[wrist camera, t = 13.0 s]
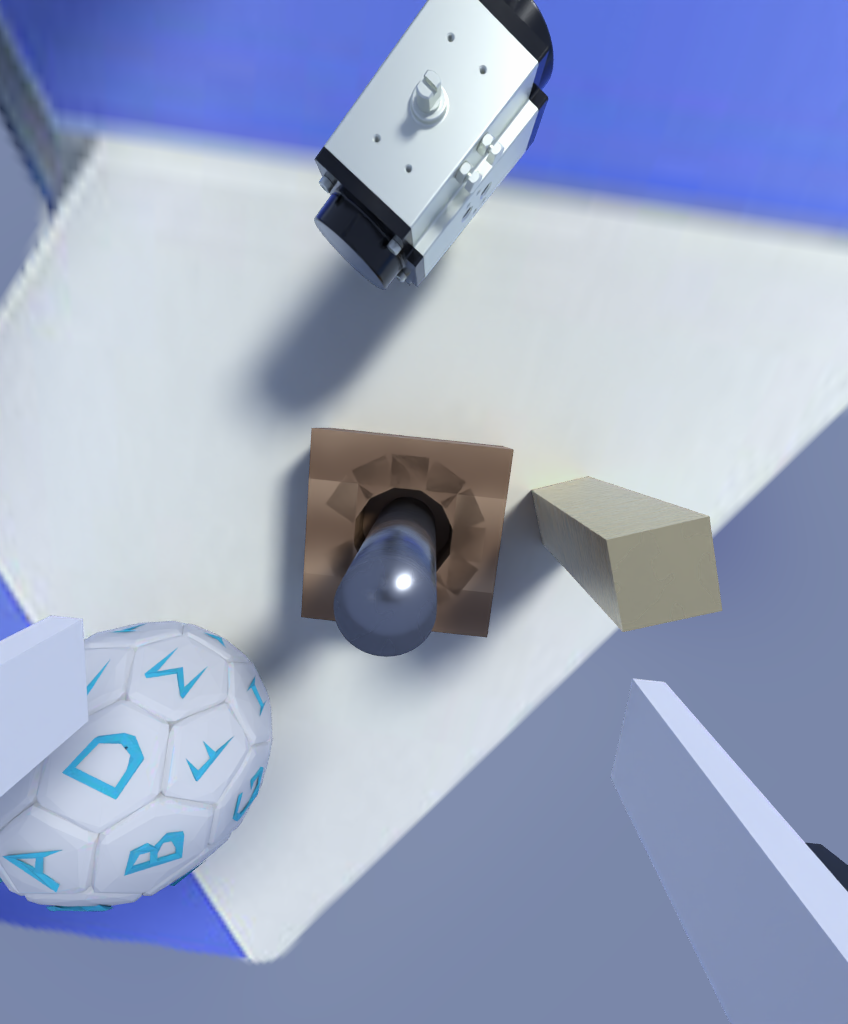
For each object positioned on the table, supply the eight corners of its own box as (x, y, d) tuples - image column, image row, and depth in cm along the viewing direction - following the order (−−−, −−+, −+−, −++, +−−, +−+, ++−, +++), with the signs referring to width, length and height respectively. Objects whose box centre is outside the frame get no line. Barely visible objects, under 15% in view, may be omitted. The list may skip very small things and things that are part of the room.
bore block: (329, 427, 31) (311, 428, 26) (502, 446, 31) (513, 449, 26) (319, 591, 33) (301, 617, 29) (480, 609, 33) (487, 637, 29)
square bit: (531, 490, 31) (606, 539, 18) (588, 476, 31) (709, 516, 17) (542, 543, 32) (623, 632, 18) (598, 530, 32) (722, 610, 18)
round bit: (380, 494, 31) (336, 554, 17) (438, 500, 31) (442, 565, 17) (375, 550, 31) (330, 651, 18) (432, 555, 31) (431, 661, 18)
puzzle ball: (121, 566, 33) (-128, 677, 18) (319, 616, 34) (228, 765, 19) (97, 740, 36) (-136, 956, 21) (279, 784, 36) (174, 1027, 22)
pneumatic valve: (344, 275, 29) (283, 173, 17) (465, 117, 27) (488, -119, 15) (409, 334, 30) (392, 274, 18) (532, 183, 28) (603, 4, 16)
